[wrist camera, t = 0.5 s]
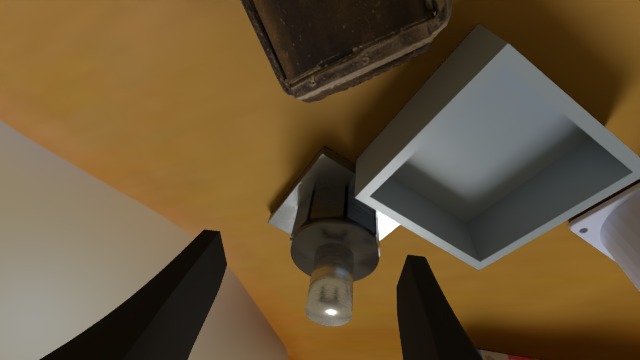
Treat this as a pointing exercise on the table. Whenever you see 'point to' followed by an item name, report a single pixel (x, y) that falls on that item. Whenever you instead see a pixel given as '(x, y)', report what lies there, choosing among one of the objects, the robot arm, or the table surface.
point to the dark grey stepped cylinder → (334, 250)
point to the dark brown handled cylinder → (342, 39)
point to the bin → (490, 155)
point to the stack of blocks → (500, 356)
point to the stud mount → (321, 174)
